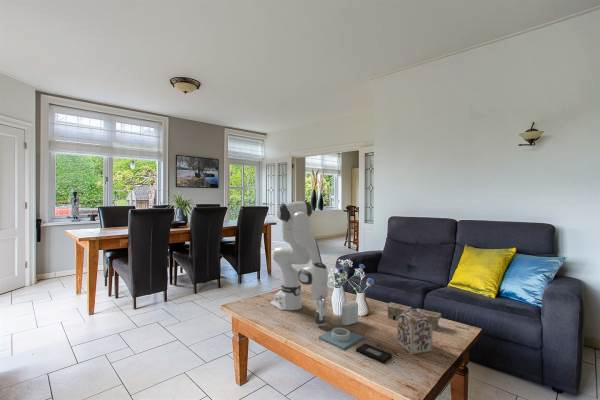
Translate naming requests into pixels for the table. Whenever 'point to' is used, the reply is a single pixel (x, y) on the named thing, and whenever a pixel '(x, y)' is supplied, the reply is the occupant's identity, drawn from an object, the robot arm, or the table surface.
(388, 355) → the vhs tape
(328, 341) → the dock
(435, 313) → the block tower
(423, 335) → the decorative jar
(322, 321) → the dark grey block
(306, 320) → the table surface
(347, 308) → the photo printer
